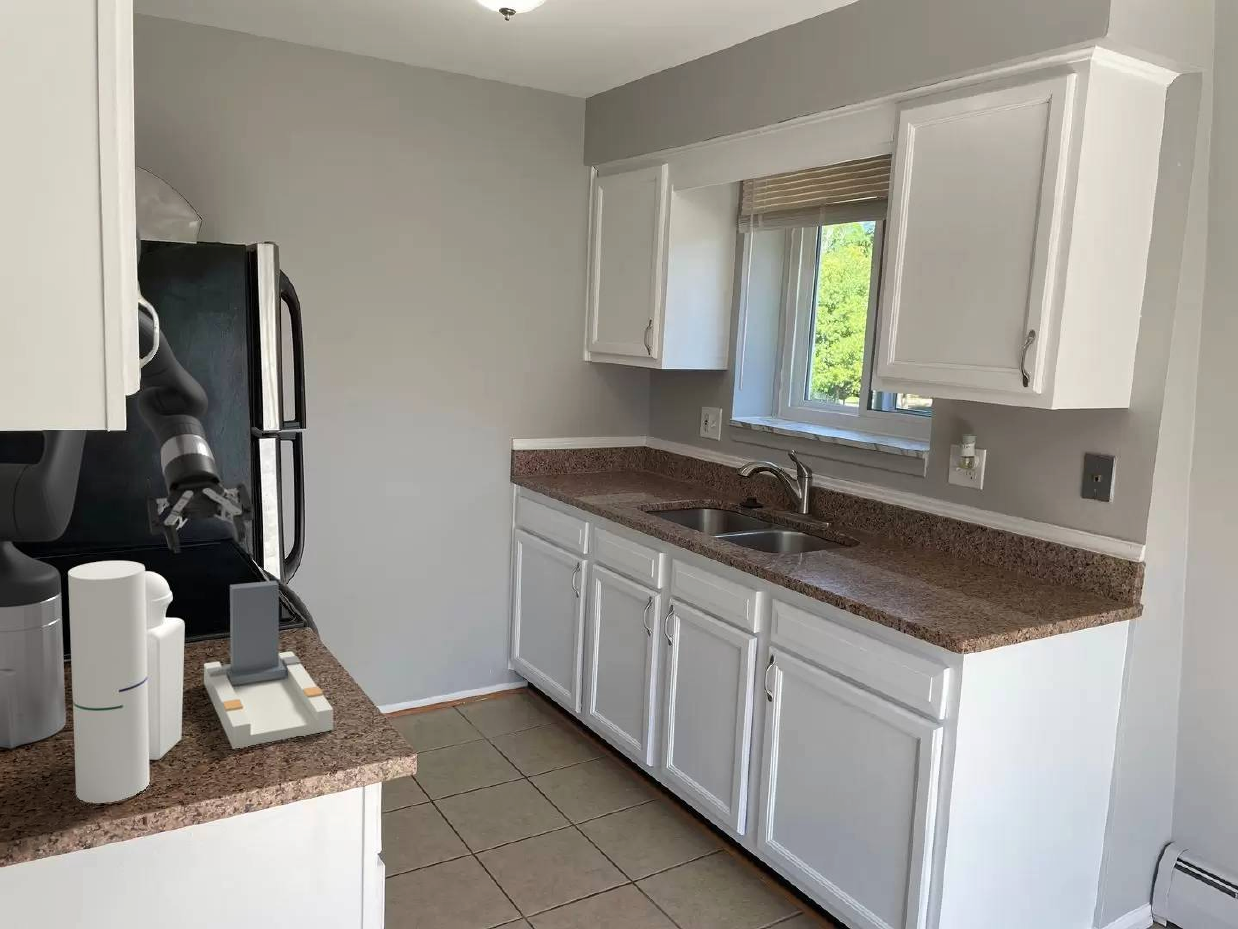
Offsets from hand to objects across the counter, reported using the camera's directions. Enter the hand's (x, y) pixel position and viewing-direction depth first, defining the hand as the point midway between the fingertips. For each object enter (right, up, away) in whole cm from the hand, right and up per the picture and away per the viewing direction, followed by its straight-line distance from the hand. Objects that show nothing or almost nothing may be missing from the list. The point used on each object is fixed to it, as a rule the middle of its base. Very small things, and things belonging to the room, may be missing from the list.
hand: (209, 543), depth 136 cm
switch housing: (+12, -21, -11) cm, 27 cm away
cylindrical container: (+4, -24, -33) cm, 41 cm away
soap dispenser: (+3, -23, -24) cm, 33 cm away
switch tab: (+9, -18, -5) cm, 21 cm away
